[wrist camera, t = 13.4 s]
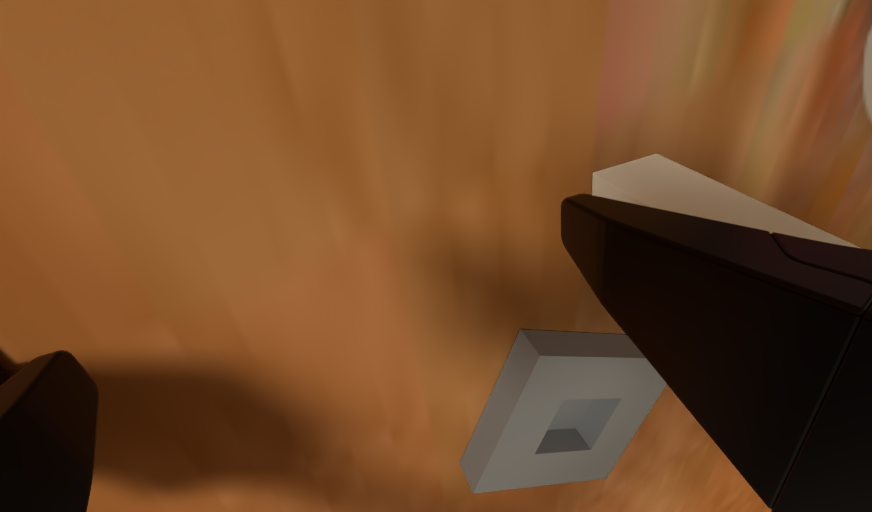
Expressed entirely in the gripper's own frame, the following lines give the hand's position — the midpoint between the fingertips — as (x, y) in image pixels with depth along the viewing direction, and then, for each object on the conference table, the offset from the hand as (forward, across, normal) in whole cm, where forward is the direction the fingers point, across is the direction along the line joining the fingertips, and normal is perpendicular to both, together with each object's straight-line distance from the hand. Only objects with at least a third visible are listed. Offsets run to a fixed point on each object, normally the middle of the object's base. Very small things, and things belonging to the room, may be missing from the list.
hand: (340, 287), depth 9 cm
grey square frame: (+13, -11, +24) cm, 30 cm away
